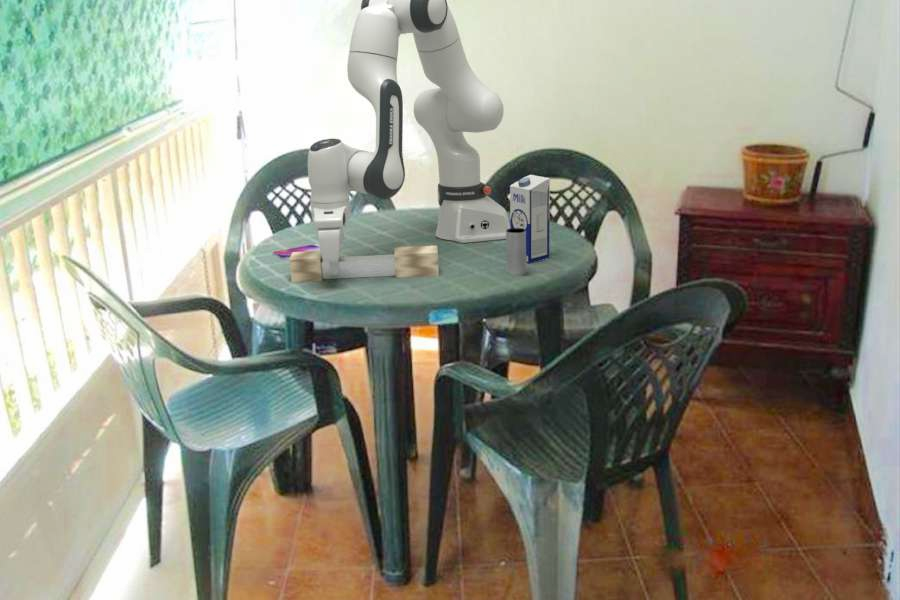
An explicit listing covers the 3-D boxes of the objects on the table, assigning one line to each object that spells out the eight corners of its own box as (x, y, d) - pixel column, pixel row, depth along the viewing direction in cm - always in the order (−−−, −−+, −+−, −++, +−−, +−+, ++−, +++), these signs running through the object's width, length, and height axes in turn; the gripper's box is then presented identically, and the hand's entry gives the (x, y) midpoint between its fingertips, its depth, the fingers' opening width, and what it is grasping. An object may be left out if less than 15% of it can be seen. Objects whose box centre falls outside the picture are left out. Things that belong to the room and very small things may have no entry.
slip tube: (412, 269, 200) (411, 253, 198) (412, 274, 196) (412, 258, 195) (302, 275, 198) (301, 258, 197) (300, 280, 195) (299, 263, 193)
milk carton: (549, 258, 206) (550, 177, 200) (529, 263, 202) (529, 181, 196) (530, 252, 211) (530, 173, 205) (510, 257, 208) (509, 177, 201)
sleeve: (437, 268, 201) (436, 245, 199) (438, 275, 195) (437, 252, 193) (395, 270, 201) (394, 247, 199) (395, 277, 195) (394, 254, 193)
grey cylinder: (520, 277, 192) (520, 233, 189) (503, 274, 195) (502, 231, 191) (529, 271, 196) (529, 228, 193) (512, 269, 198) (511, 226, 195)
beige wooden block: (324, 273, 200) (322, 250, 198) (322, 281, 194) (320, 258, 192) (294, 274, 200) (292, 252, 198) (291, 283, 193) (289, 259, 192)
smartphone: (335, 248, 220) (281, 258, 212) (335, 251, 220) (282, 261, 213) (323, 242, 226) (271, 251, 218) (324, 245, 226) (271, 255, 218)
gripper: (320, 202, 202) (325, 258, 206) (312, 222, 182) (318, 283, 187) (347, 201, 202) (351, 257, 206) (342, 221, 183) (346, 282, 187)
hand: (335, 269), depth 196 cm, fingers closed on slip tube, 4 cm apart
